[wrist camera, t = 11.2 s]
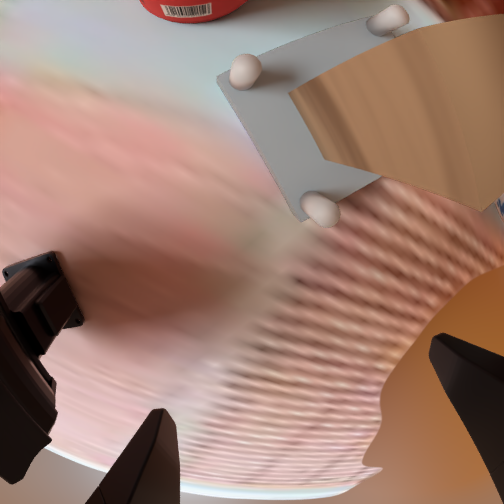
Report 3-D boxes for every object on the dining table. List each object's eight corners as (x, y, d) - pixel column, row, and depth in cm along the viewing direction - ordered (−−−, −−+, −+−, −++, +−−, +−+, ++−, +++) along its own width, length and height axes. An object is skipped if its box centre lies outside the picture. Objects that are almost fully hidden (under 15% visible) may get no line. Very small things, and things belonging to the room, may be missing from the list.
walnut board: (324, 159, 17) (481, 212, 6) (287, 93, 15) (418, 28, 4) (398, 120, 16) (560, 136, 5) (367, 58, 14) (522, 12, 3)
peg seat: (293, 214, 20) (316, 238, 15) (216, 82, 16) (216, 63, 11) (424, 140, 19) (468, 147, 14) (367, 21, 15) (404, 0, 10)
